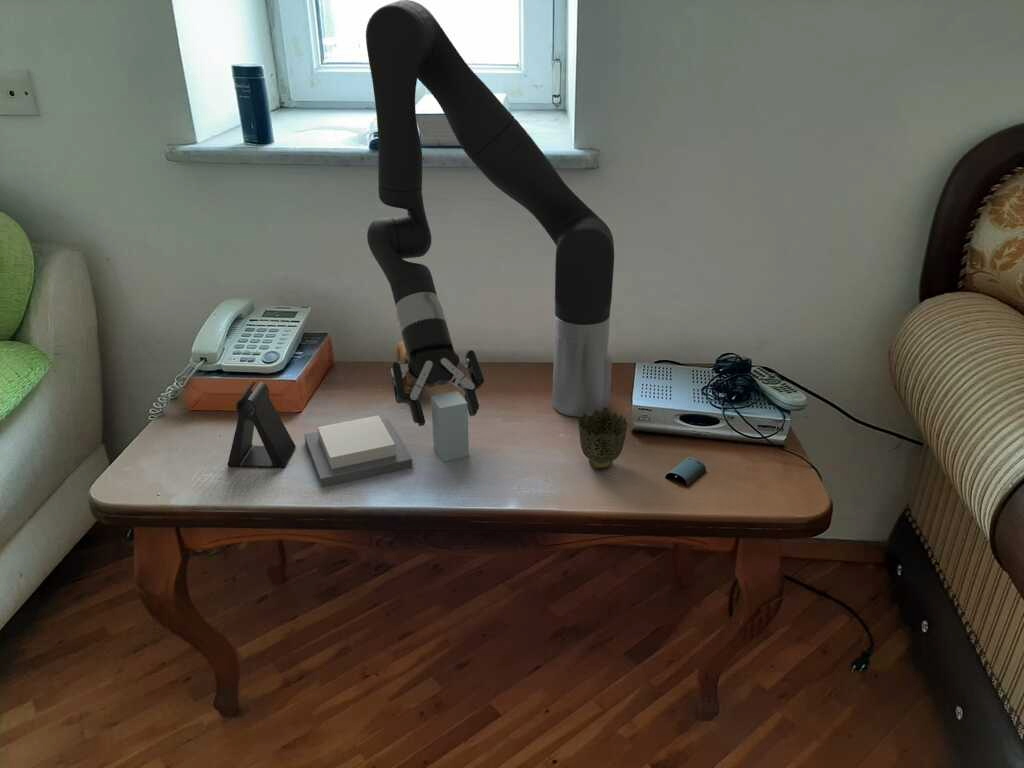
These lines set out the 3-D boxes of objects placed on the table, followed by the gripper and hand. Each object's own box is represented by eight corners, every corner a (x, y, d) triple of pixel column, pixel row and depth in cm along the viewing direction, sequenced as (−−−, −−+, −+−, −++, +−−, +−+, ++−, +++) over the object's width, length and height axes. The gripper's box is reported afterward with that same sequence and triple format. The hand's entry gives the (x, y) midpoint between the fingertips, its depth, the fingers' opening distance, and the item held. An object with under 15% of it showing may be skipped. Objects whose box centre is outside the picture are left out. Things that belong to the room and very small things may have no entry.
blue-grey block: (459, 442, 128) (457, 390, 124) (468, 455, 125) (467, 402, 120) (433, 448, 127) (431, 395, 122) (442, 461, 123) (440, 408, 119)
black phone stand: (296, 448, 126) (286, 381, 121) (285, 468, 121) (274, 400, 116) (241, 447, 127) (229, 380, 121) (227, 467, 121) (214, 398, 116)
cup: (593, 483, 117) (595, 437, 114) (567, 460, 123) (569, 415, 120) (634, 471, 121) (637, 425, 117) (607, 448, 126) (610, 405, 123)
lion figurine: (442, 391, 145) (440, 346, 141) (416, 398, 142) (413, 353, 138) (405, 363, 155) (402, 320, 151) (380, 369, 153) (377, 326, 149)
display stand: (388, 425, 133) (387, 407, 131) (412, 467, 121) (411, 447, 120) (305, 442, 128) (302, 423, 126) (321, 487, 117) (319, 467, 115)
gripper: (383, 323, 122) (408, 421, 117) (469, 310, 127) (496, 404, 122) (377, 341, 128) (400, 435, 124) (459, 329, 134) (484, 418, 129)
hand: (448, 419), depth 123 cm, fingers open, 8 cm apart
